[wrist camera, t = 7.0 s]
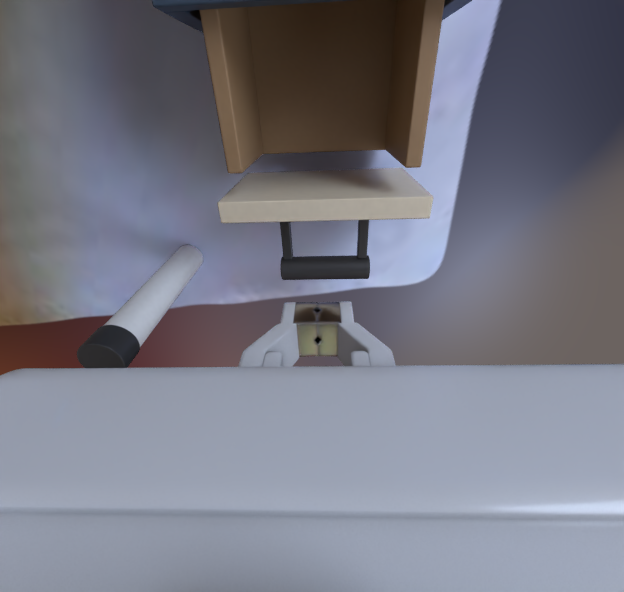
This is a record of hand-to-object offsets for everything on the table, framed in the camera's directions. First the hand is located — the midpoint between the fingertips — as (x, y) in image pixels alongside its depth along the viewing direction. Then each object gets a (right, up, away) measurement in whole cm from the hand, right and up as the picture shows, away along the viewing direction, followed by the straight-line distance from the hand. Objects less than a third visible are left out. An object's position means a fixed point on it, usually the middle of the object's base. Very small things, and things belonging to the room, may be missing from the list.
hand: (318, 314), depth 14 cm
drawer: (+1, +13, +7) cm, 15 cm away
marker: (-12, +5, +15) cm, 19 cm away
